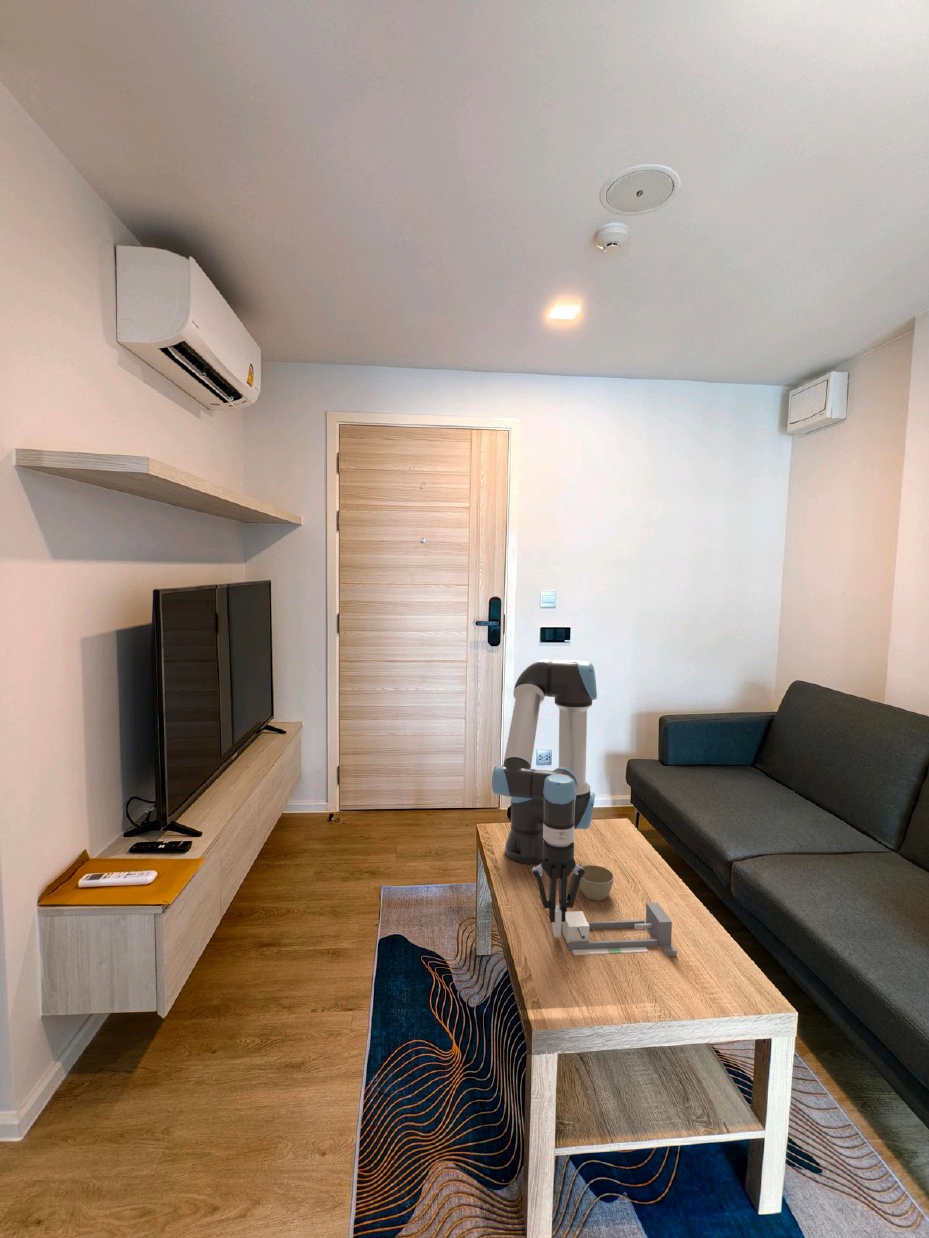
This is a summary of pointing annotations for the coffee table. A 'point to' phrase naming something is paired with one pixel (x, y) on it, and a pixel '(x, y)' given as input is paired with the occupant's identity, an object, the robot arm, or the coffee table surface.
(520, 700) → the robot arm
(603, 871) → the flower pot
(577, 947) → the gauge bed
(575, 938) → the cream block
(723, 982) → the coffee table surface
